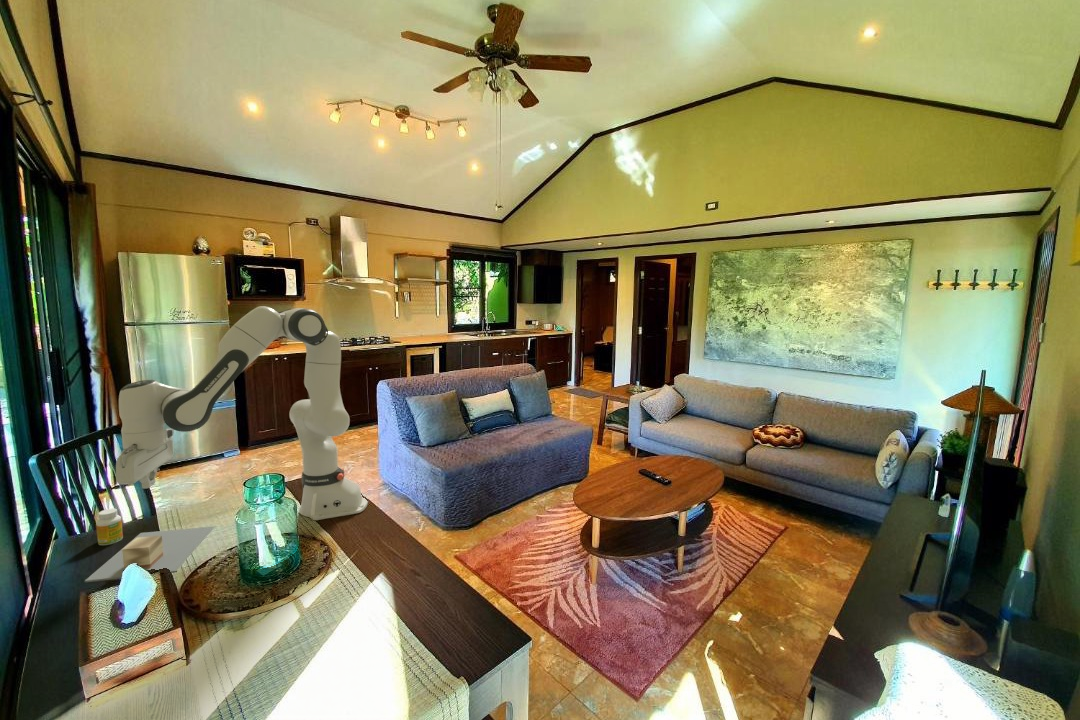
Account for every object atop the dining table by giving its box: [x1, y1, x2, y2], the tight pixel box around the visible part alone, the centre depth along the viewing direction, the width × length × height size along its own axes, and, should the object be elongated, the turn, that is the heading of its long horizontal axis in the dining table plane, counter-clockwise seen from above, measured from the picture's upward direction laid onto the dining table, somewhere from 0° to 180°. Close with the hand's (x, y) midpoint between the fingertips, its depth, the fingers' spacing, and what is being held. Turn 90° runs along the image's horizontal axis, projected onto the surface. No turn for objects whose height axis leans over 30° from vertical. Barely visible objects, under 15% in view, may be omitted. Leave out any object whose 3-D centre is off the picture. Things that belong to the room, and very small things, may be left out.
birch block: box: [121, 536, 163, 569], centre depth 121 cm, size 6×6×6 cm
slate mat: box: [84, 526, 216, 583], centre depth 127 cm, size 20×24×1 cm
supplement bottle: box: [95, 508, 124, 546], centre depth 131 cm, size 5×5×10 cm
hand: (148, 486), depth 123 cm, fingers closed
